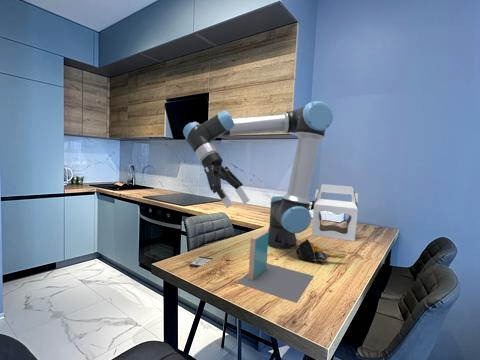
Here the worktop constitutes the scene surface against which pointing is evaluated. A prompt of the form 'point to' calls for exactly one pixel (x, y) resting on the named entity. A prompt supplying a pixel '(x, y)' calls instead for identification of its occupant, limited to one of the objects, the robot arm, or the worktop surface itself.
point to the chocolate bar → (199, 261)
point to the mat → (279, 282)
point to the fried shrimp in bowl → (314, 252)
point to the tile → (258, 254)
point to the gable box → (335, 207)
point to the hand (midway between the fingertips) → (239, 203)
